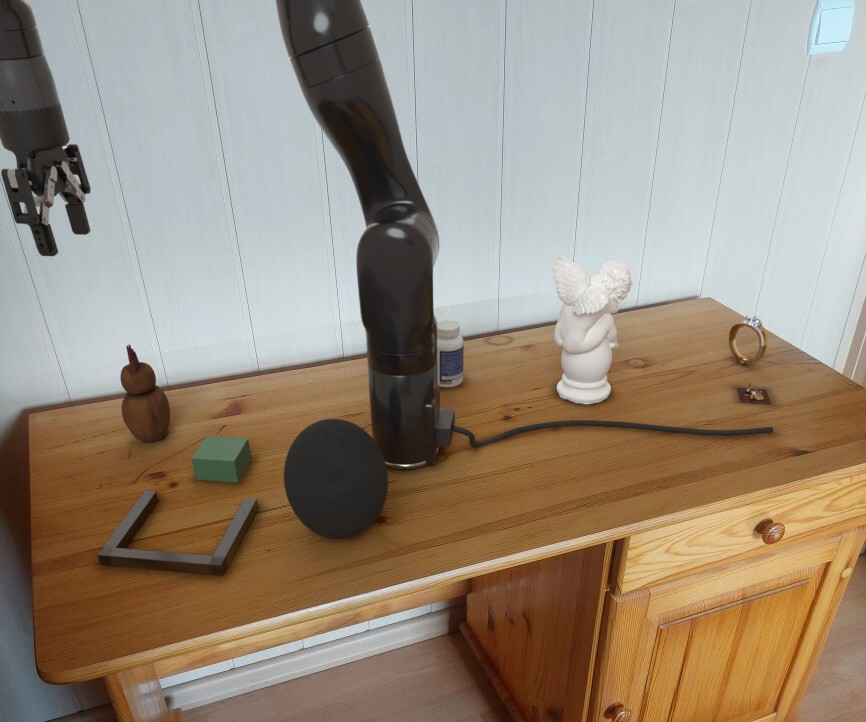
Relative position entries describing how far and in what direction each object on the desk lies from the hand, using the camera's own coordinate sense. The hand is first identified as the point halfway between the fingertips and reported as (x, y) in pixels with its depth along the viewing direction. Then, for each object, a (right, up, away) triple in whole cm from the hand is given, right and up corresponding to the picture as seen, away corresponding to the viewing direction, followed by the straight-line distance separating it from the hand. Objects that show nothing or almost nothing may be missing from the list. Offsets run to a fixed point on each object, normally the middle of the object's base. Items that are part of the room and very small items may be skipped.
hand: (66, 244), depth 104 cm
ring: (+99, -8, +35) cm, 106 cm away
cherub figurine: (+70, -15, +25) cm, 76 cm away
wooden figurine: (+5, -22, +17) cm, 28 cm away
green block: (+18, -28, +9) cm, 34 cm away
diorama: (+98, -15, +25) cm, 102 cm away
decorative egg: (+35, -37, -2) cm, 51 cm away
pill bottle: (+49, -12, +30) cm, 59 cm away
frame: (+16, -37, -2) cm, 40 cm away
